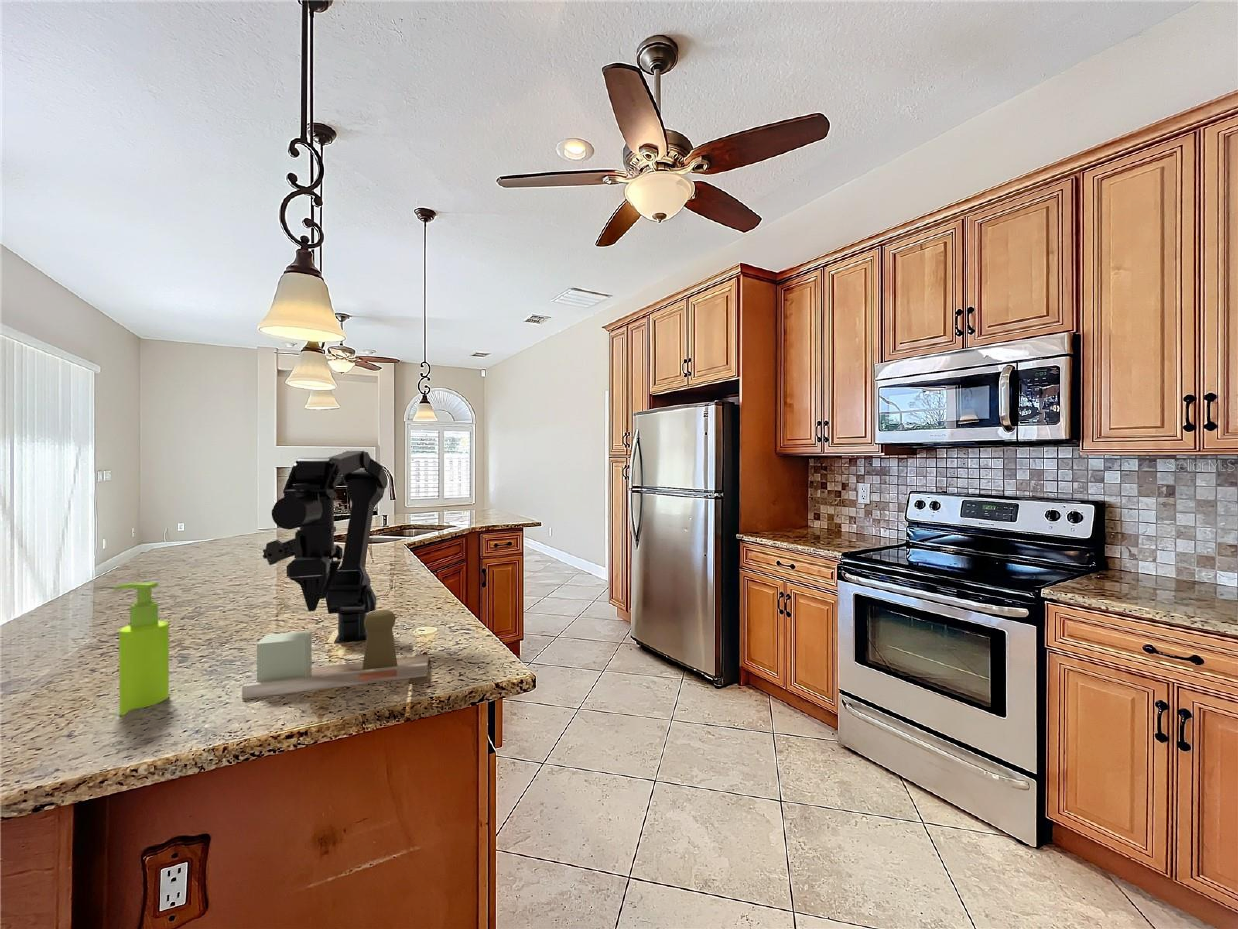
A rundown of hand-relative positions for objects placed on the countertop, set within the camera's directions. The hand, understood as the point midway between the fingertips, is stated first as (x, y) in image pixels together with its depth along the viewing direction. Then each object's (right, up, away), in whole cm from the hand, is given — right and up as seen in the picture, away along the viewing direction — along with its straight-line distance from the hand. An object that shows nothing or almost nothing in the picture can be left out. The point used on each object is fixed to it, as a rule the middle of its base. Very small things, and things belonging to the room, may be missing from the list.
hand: (317, 604), depth 102 cm
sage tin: (0, -11, -10) cm, 15 cm away
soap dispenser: (-19, -12, -17) cm, 28 cm away
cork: (+14, -11, -5) cm, 19 cm away
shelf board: (+9, -12, -7) cm, 16 cm away
